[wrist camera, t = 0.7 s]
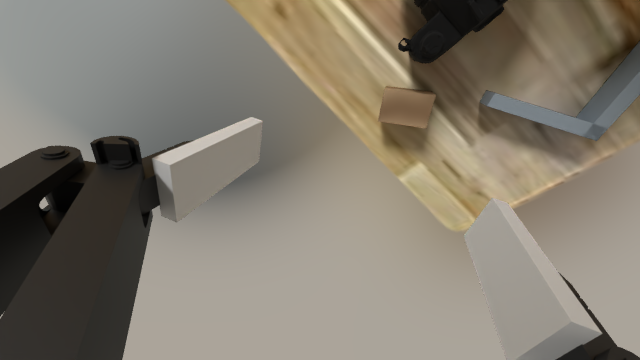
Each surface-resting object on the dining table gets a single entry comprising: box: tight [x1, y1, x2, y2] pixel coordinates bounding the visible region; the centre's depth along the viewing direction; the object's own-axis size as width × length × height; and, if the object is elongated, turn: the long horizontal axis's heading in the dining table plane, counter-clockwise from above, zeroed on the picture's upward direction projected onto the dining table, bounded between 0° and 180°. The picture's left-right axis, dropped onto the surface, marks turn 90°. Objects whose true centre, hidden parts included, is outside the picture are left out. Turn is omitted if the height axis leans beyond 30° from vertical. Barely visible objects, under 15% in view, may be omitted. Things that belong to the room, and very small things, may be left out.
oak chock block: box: [378, 86, 436, 128], centre depth 31 cm, size 4×6×4 cm, turn 85°
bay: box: [480, 41, 640, 141], centre depth 23 cm, size 22×12×3 cm, turn 164°
